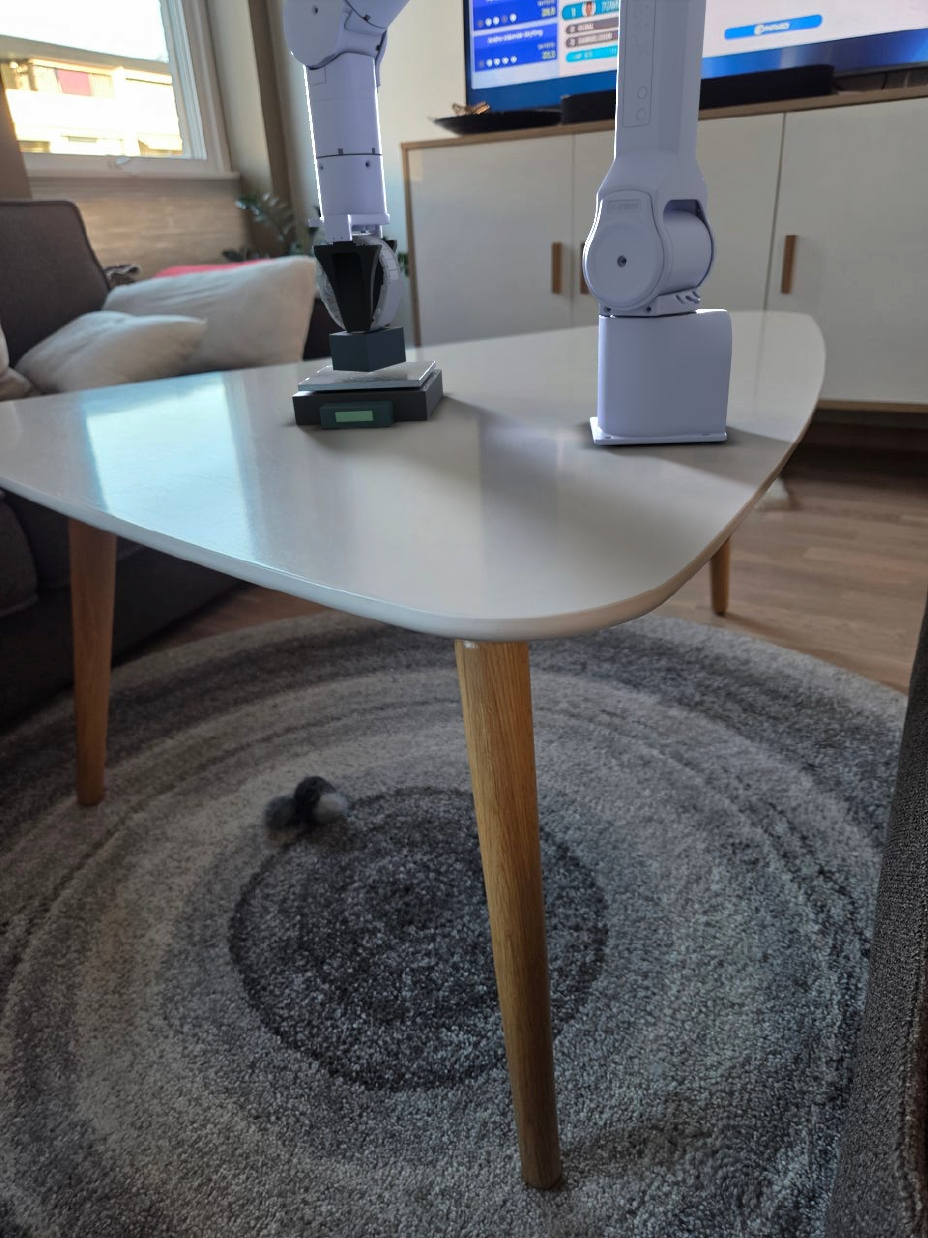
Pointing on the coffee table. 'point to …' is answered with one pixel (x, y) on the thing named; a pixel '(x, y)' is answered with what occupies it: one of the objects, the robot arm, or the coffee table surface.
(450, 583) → the coffee table surface
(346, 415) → the scale
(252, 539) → the coffee table surface
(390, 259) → the watch
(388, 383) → the scale pan
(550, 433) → the coffee table surface
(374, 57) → the robot arm
